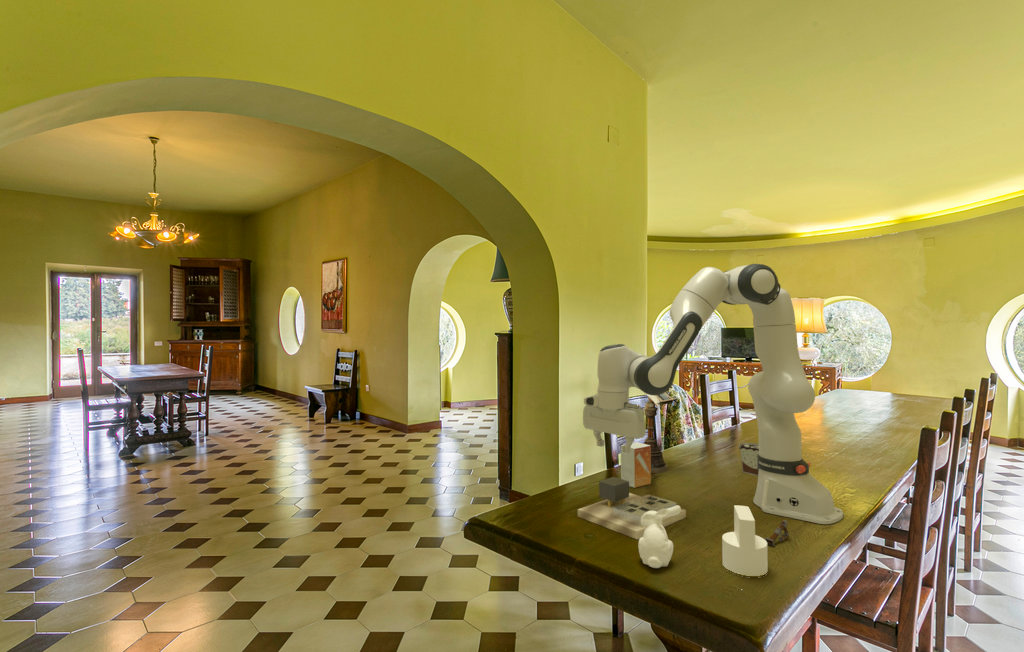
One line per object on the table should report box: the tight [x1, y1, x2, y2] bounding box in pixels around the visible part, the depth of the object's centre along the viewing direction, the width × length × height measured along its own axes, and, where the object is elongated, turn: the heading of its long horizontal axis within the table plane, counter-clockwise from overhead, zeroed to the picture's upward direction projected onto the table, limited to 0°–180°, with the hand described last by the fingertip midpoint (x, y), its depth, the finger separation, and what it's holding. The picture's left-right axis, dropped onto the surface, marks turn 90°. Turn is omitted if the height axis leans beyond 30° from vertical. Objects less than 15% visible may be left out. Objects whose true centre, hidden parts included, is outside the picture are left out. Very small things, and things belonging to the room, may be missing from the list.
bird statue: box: [640, 390, 678, 474], centre depth 185 cm, size 17×13×35 cm
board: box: [577, 492, 687, 540], centre depth 139 cm, size 20×22×2 cm
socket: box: [613, 494, 677, 527], centre depth 136 cm, size 9×16×2 cm, turn 130°
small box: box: [620, 441, 652, 489], centre depth 168 cm, size 8×6×13 cm
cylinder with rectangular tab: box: [721, 505, 769, 576], centre depth 110 cm, size 9×9×12 cm
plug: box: [598, 476, 630, 506], centre depth 145 cm, size 6×9×6 cm, turn 129°
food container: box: [738, 442, 759, 477], centre depth 178 cm, size 12×6×10 cm, turn 34°
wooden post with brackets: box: [764, 519, 790, 547], centre depth 123 cm, size 2×8×5 cm, turn 122°
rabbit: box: [637, 504, 682, 569], centre depth 113 cm, size 12×9×12 cm
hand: (613, 449), depth 144 cm, fingers open, 8 cm apart
